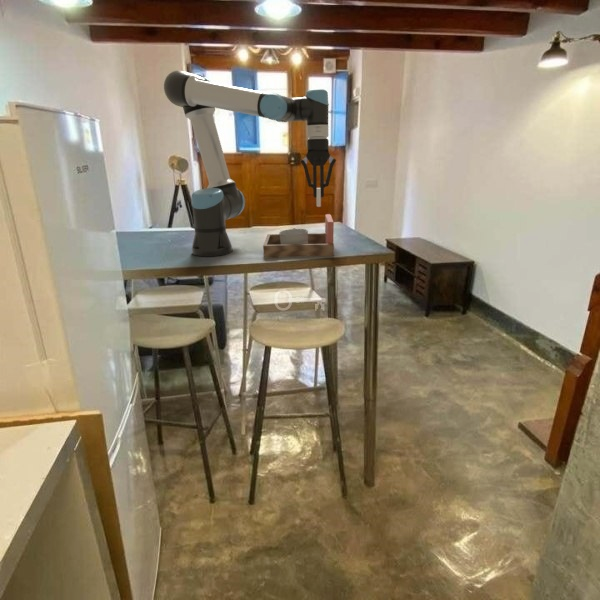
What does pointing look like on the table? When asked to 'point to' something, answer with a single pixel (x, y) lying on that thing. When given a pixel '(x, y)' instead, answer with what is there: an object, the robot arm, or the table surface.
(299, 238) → the teacup
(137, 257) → the table surface
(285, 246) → the crate
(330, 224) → the pink flat slab
